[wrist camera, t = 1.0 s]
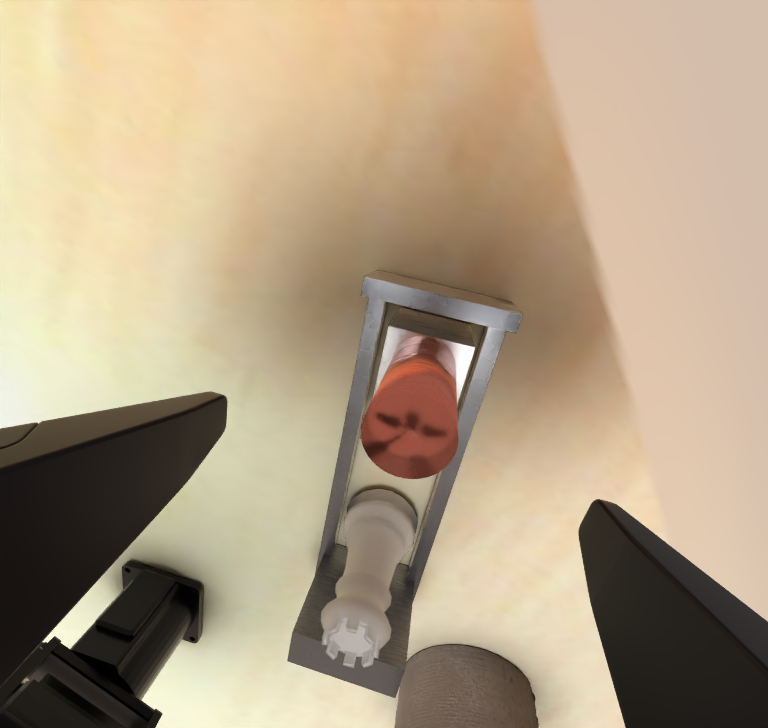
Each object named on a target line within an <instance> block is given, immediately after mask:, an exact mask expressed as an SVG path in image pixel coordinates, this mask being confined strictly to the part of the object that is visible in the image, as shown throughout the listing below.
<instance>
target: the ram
mask: <svg viewBox="0 0 768 728" xmlns="http://www.w3.org/2000/svg"><path fill="white" fill-rule="evenodd" d="M474 350H475V344H474V340H473V335H472V330H471V325H470V324H467V323H463V322H459V321H455V320H451V319H446V318H442V317H438V316H434V315H430V314H426V313H422V312H418V311H414V310H410V309H406V308H402V307H401V309H400V310H399V312H398V313H397V314H396V316H395V317H394V319H393V320H392V322H391V323H390V325H389V326H388V331H387V335H386V340H385V345H384V349H383V354H382V358H381V363H380V367H379V372H378V376H377V381H376V385H375V390H374V395H373V399H372V401H371V403H370V405H369V408H368V410H367V412H366V414H365V416H364V418H363V421H362V424H361V435H360V439H361V440H362V444H363V447H364V449H365V451H366V453H367V455H368V456H369V458H370V459H371V460H372V461H373V462H374V463H375V464H376V465H377V466H378V467H379V468H381V469H382V470H384V471H385V472H387V473H389V474H392V475H394V476H397V477H401V478H407V479H420V478H425V477H429V476H432V475H434V474H436V473H438V472H440V471H441V470H443V469H444V468H445V467H446V466H448V464H449V463H450V462H451V461H452V459H453V458H454V456H455V453H456V451H457V447H458V440H459V439H458V411H457V403H458V400H459V397H460V394H461V391H462V388H463V385H464V381H465V378H466V375H467V372H468V369H469V366H470V362H471V359H472V356H473V353H474Z"/></svg>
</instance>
